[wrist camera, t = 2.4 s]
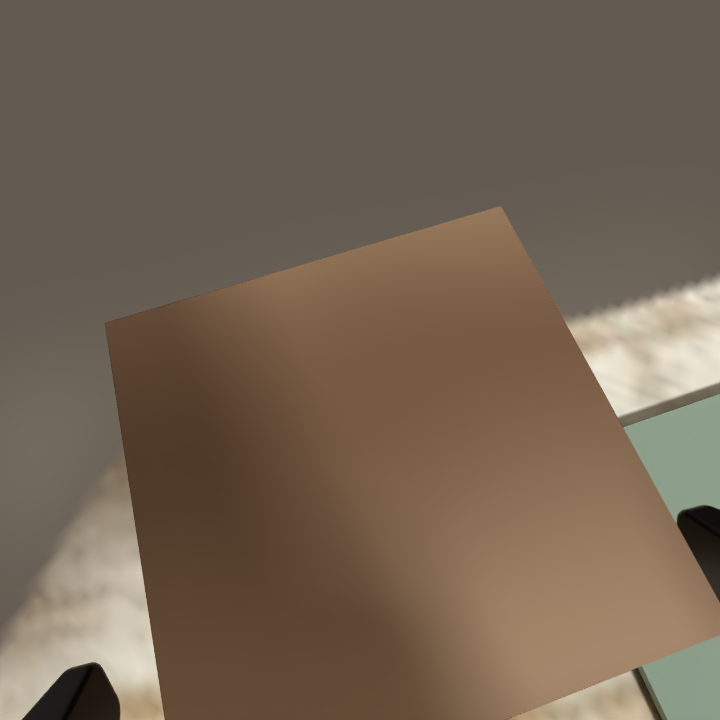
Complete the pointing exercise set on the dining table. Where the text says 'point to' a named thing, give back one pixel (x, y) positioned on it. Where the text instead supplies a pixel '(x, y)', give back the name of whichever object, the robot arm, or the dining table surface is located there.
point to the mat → (679, 491)
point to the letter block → (391, 493)
